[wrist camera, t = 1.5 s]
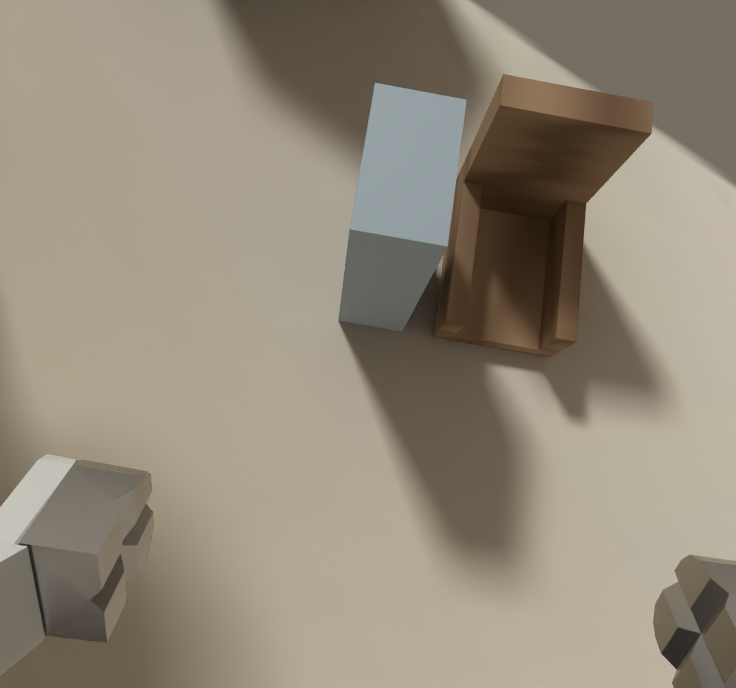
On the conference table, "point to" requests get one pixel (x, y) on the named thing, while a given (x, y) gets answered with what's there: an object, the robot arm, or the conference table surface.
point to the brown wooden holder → (530, 212)
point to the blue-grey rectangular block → (401, 204)
